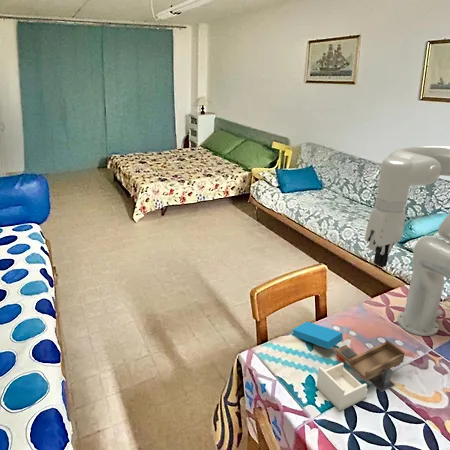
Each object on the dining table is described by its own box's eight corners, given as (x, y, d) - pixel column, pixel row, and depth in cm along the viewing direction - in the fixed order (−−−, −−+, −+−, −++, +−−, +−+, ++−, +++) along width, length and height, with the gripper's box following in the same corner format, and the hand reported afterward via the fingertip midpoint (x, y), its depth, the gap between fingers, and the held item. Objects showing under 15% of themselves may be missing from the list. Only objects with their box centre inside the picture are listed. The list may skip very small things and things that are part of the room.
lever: (295, 349, 130) (340, 367, 116) (292, 329, 129) (338, 345, 115) (309, 340, 134) (355, 357, 120) (307, 321, 133) (352, 336, 118)
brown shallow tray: (368, 339, 122) (370, 327, 120) (402, 365, 112) (405, 352, 110) (333, 355, 116) (334, 343, 114) (365, 384, 106) (367, 371, 104)
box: (341, 375, 113) (344, 356, 110) (366, 398, 106) (370, 377, 103) (316, 387, 109) (318, 367, 106) (339, 411, 102) (343, 390, 99)
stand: (367, 362, 118) (369, 347, 116) (394, 385, 110) (398, 370, 108) (354, 368, 116) (357, 353, 114) (381, 392, 108) (384, 376, 105)
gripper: (398, 196, 112) (387, 254, 119) (359, 204, 106) (350, 265, 113) (421, 204, 106) (408, 264, 113) (381, 213, 100) (370, 277, 107)
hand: (379, 264), depth 113 cm, fingers closed
